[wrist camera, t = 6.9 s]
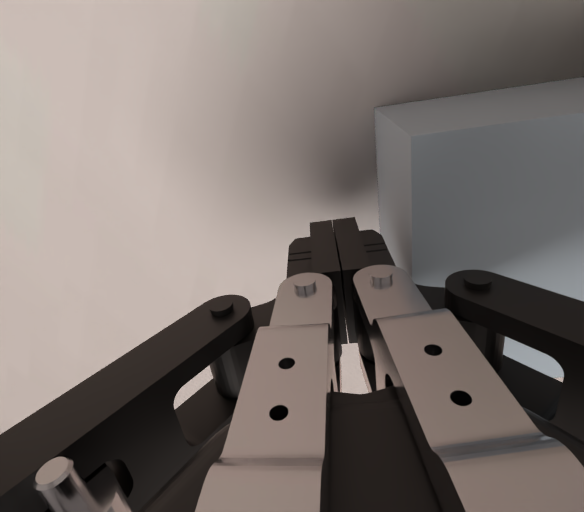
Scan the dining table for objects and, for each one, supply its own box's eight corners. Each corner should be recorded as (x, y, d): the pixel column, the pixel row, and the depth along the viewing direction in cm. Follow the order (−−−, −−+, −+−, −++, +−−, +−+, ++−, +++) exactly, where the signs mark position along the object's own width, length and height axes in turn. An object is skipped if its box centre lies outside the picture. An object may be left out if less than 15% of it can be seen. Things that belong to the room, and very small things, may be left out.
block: (374, 107, 14) (411, 136, 9) (667, 64, 13) (905, 68, 8) (382, 289, 18) (412, 388, 13) (614, 267, 17) (755, 363, 12)
